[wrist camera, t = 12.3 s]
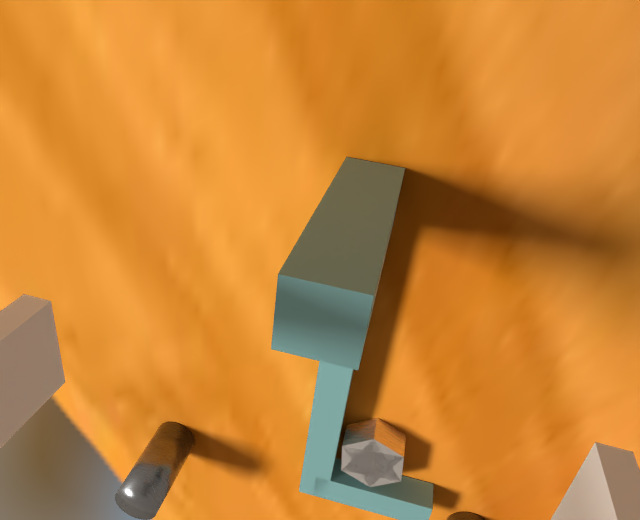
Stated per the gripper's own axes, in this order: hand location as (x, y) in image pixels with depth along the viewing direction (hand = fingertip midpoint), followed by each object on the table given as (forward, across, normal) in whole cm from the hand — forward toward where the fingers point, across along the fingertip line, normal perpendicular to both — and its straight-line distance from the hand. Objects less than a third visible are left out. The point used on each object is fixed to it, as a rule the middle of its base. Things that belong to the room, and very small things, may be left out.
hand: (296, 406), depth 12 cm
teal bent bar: (+16, +3, -11) cm, 20 cm away
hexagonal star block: (+16, +3, -19) cm, 25 cm away
